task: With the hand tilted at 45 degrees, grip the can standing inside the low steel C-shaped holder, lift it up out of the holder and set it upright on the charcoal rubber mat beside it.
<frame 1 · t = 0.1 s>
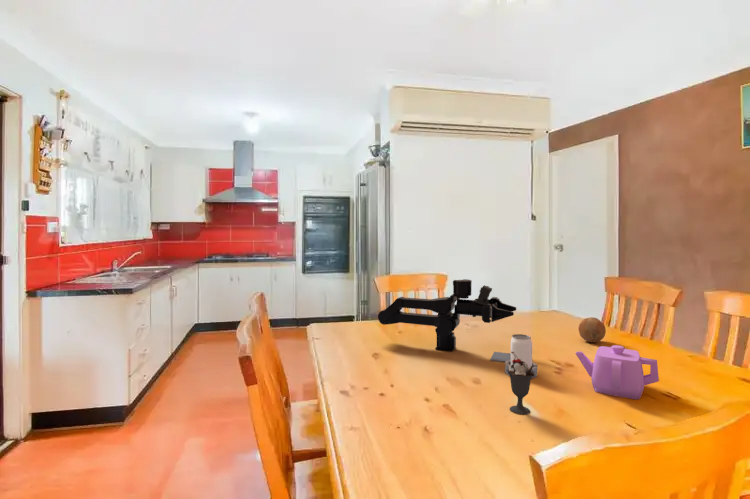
hand: (514, 311, 148), 17 cm above the table, tool horizontal, fingers open, 9 cm apart
sundae: (519, 411, 106), on the table
coconut: (591, 342, 167), on the table
mat: (506, 358, 147), on the table
can: (521, 374, 132), on the table
holder: (521, 373, 132), on the table
teakettle: (614, 388, 120), on the table
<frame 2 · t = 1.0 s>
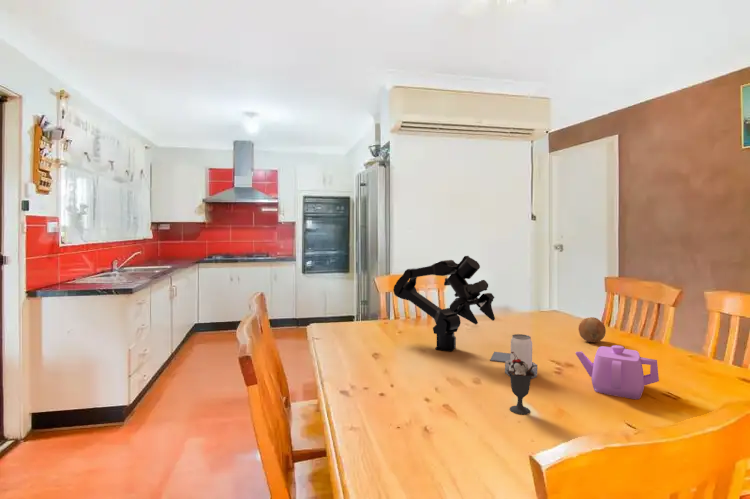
hand: (485, 321, 144), 14 cm above the table, tool tilted 45°, fingers open, 9 cm apart
nothing on the table moved.
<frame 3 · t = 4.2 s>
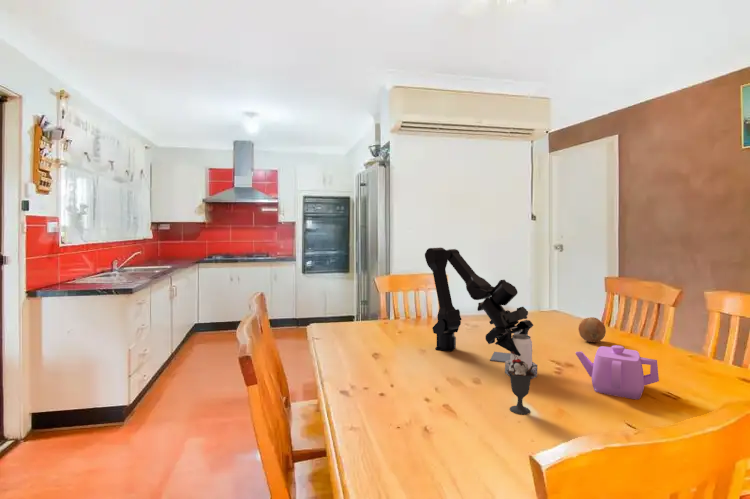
hand: (525, 353, 130), 7 cm above the table, tool tilted 45°, fingers closed on can, 6 cm apart
can: (521, 374, 132), on the table, touching gripper
everything else where it was.
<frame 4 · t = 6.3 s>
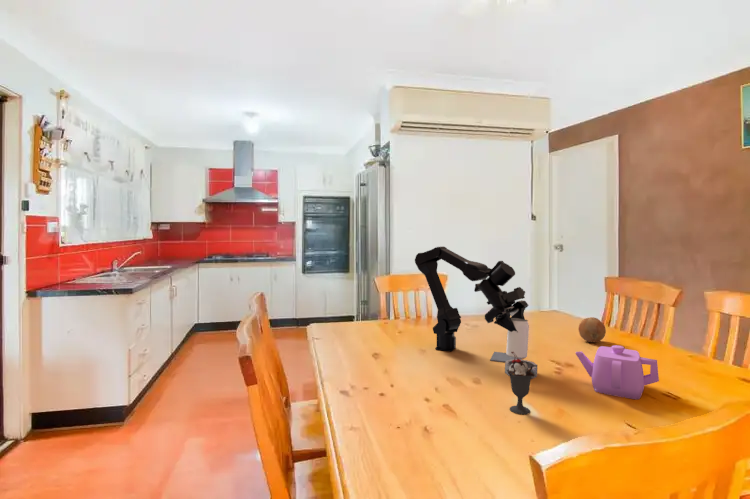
hand: (522, 332, 134), 12 cm above the table, tool tilted 45°, fingers closed on can, 6 cm apart
can: (516, 356, 135), point 4 cm above the table, touching gripper
everything else where it was.
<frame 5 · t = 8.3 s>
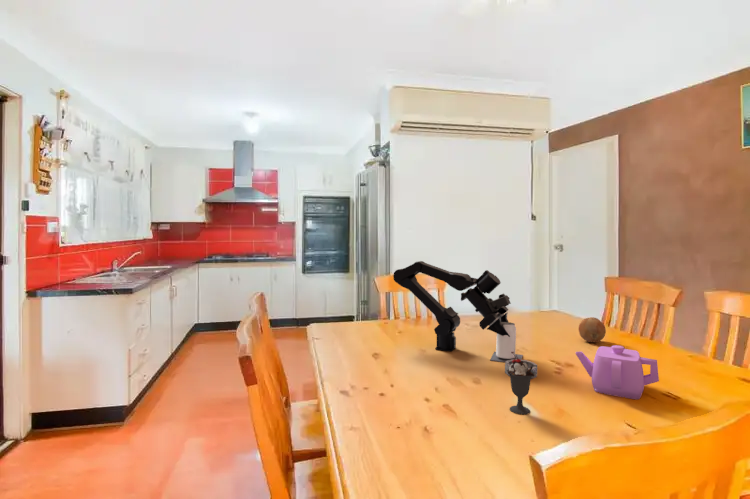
hand: (511, 335, 146), 8 cm above the table, tool tilted 45°, fingers closed on can, 6 cm apart
can: (505, 357, 146), point 1 cm above the table, touching gripper, mat
everything else where it was.
when the fingers open (8 cm above the table, at t = 8.8 s): can stays where it is, resting on mat.
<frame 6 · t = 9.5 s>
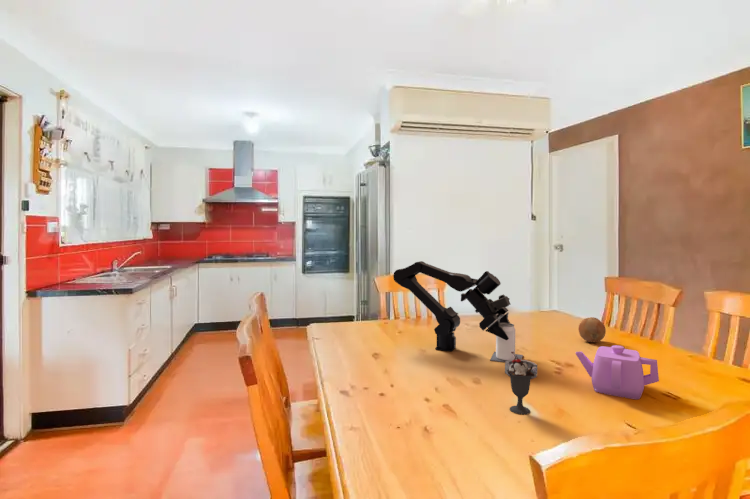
hand: (511, 336, 146), 8 cm above the table, tool tilted 45°, fingers open, 9 cm apart
can: (505, 358, 146), resting on mat
everything else where it was.
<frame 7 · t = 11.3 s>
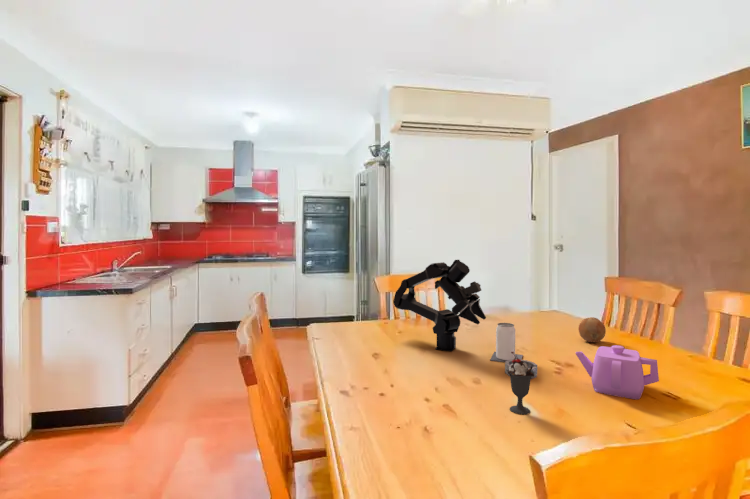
hand: (482, 321, 151), 12 cm above the table, tool tilted 45°, fingers open, 9 cm apart
nothing on the table moved.
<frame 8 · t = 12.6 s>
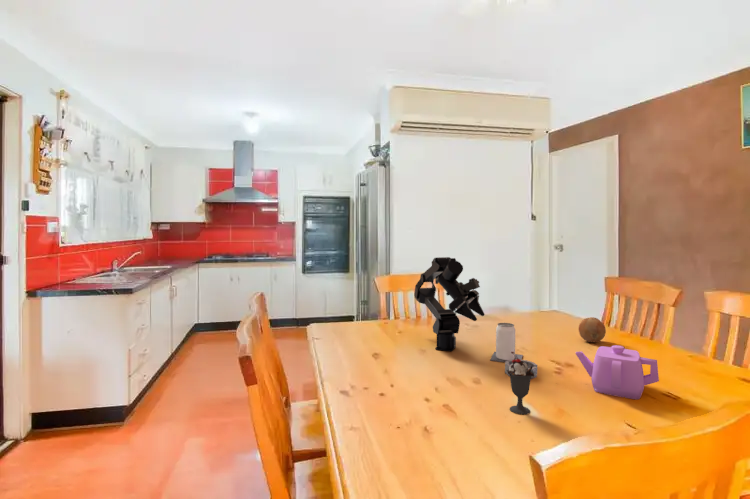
hand: (480, 317, 151), 14 cm above the table, tool tilted 45°, fingers open, 9 cm apart
nothing on the table moved.
at the end: can inside the target area on the mat (1.2 cm from its centre), point 0.2 cm above the mat's base; can tilted 0°; the gripper is holding nothing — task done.
